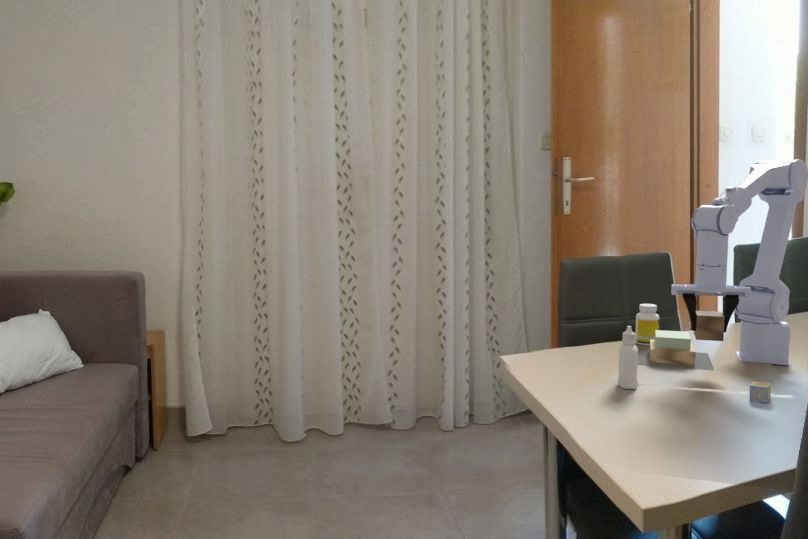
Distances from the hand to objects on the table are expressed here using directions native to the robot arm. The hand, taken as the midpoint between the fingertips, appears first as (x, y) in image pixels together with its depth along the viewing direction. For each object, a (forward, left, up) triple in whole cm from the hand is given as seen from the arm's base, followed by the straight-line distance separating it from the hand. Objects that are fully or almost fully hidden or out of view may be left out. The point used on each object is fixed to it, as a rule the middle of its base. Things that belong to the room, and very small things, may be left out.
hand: (708, 330), depth 135 cm
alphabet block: (-8, +14, -10) cm, 18 cm away
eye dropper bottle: (+15, +12, -10) cm, 21 cm away
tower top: (+6, -9, -6) cm, 13 cm away
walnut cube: (0, 0, -1) cm, 1 cm away
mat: (+6, -9, -9) cm, 15 cm away
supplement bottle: (+11, -23, -10) cm, 28 cm away
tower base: (+6, -9, -9) cm, 14 cm away
